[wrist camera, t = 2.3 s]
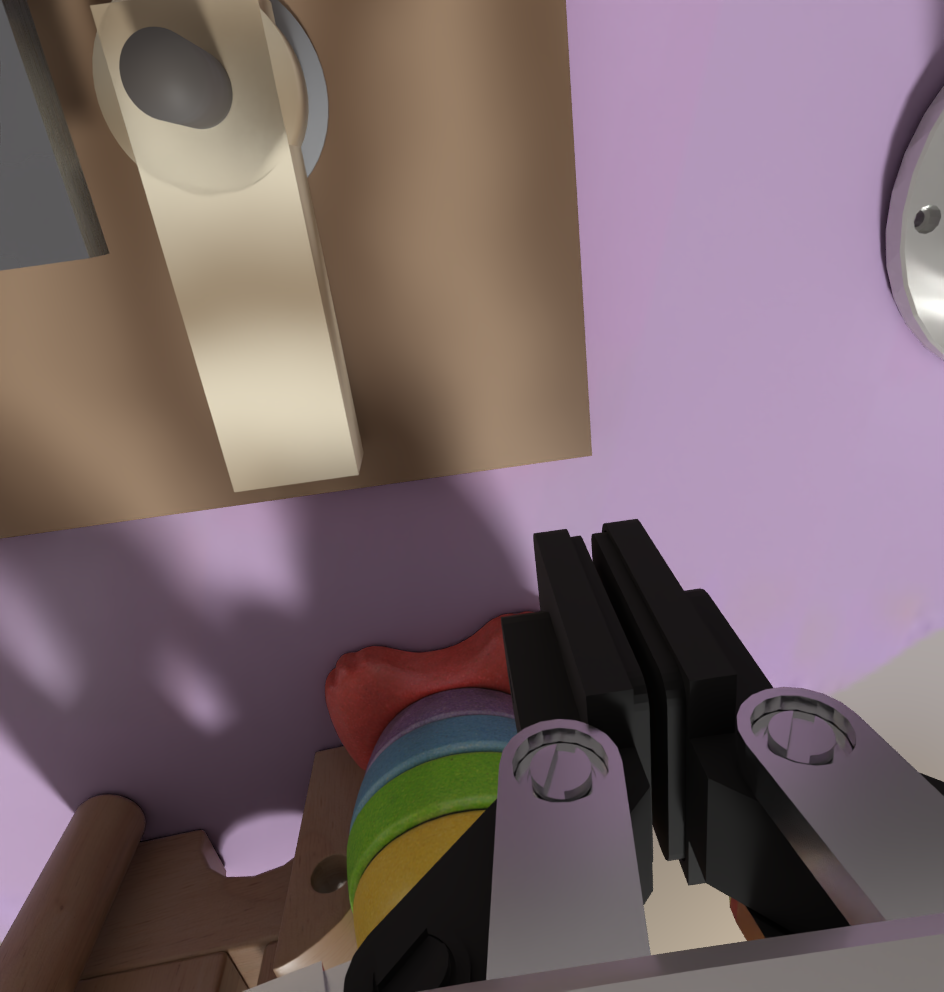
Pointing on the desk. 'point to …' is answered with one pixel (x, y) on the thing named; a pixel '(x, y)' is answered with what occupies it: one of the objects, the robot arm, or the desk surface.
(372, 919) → the stacking bear
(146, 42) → the link
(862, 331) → the desk surface
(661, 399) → the desk surface
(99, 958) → the wooden toy
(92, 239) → the keeper
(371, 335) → the base board
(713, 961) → the robot arm
